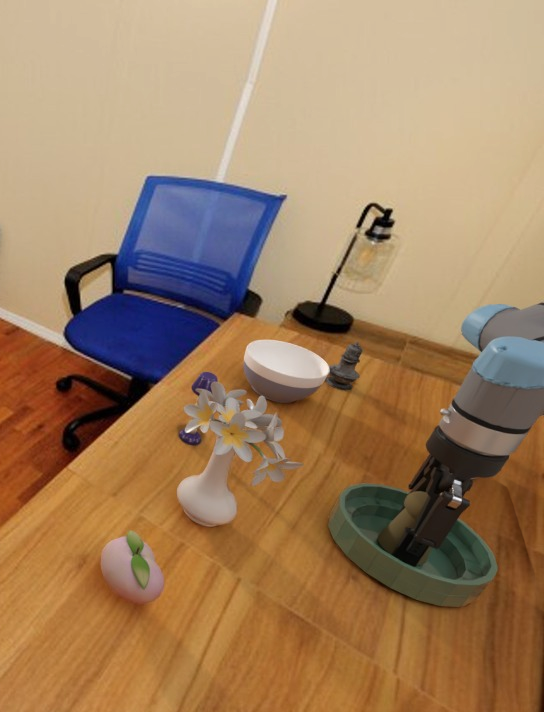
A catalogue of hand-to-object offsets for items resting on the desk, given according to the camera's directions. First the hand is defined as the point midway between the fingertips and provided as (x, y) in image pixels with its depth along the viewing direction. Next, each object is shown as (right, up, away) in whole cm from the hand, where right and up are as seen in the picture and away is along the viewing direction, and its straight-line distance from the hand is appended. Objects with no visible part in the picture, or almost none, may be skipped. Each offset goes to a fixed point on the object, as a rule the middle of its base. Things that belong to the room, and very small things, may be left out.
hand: (401, 546), depth 82 cm
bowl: (+8, +18, +39) cm, 43 cm away
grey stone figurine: (+25, +19, +41) cm, 52 cm away
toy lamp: (-21, +10, +25) cm, 34 cm away
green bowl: (0, -2, +1) cm, 2 cm away
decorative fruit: (-47, -5, -4) cm, 47 cm away
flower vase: (-27, +1, +8) cm, 28 cm away
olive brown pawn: (0, 0, 0) cm, 1 cm away
